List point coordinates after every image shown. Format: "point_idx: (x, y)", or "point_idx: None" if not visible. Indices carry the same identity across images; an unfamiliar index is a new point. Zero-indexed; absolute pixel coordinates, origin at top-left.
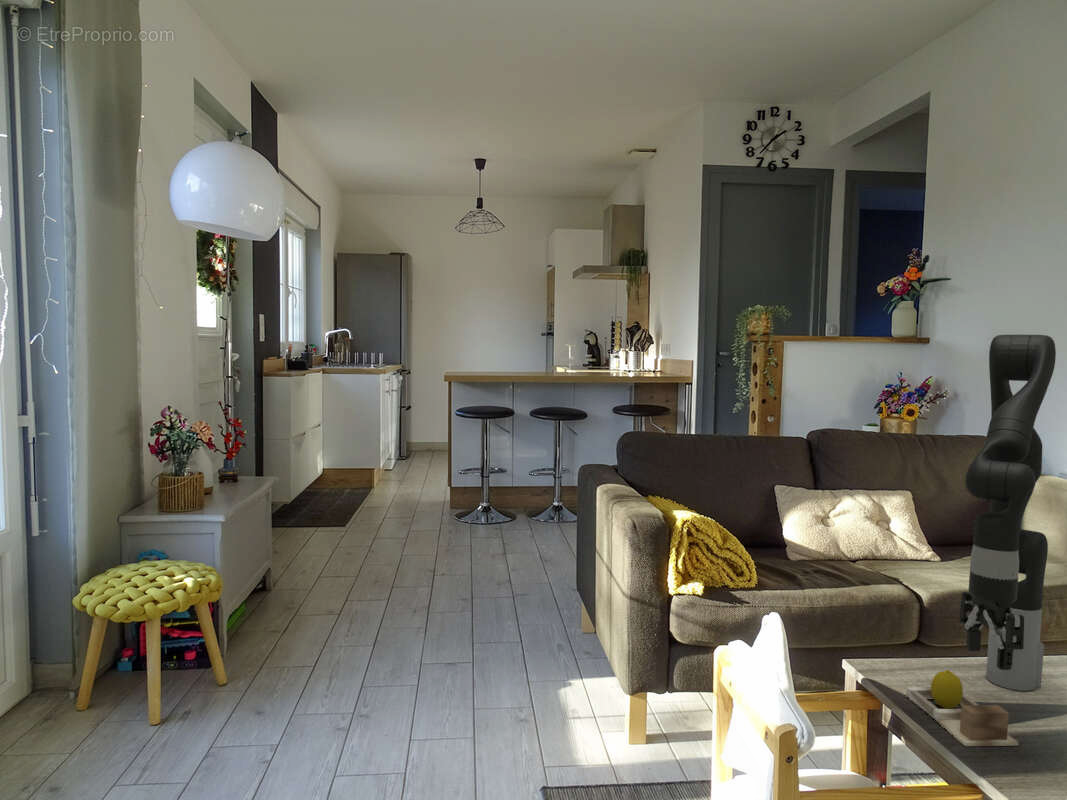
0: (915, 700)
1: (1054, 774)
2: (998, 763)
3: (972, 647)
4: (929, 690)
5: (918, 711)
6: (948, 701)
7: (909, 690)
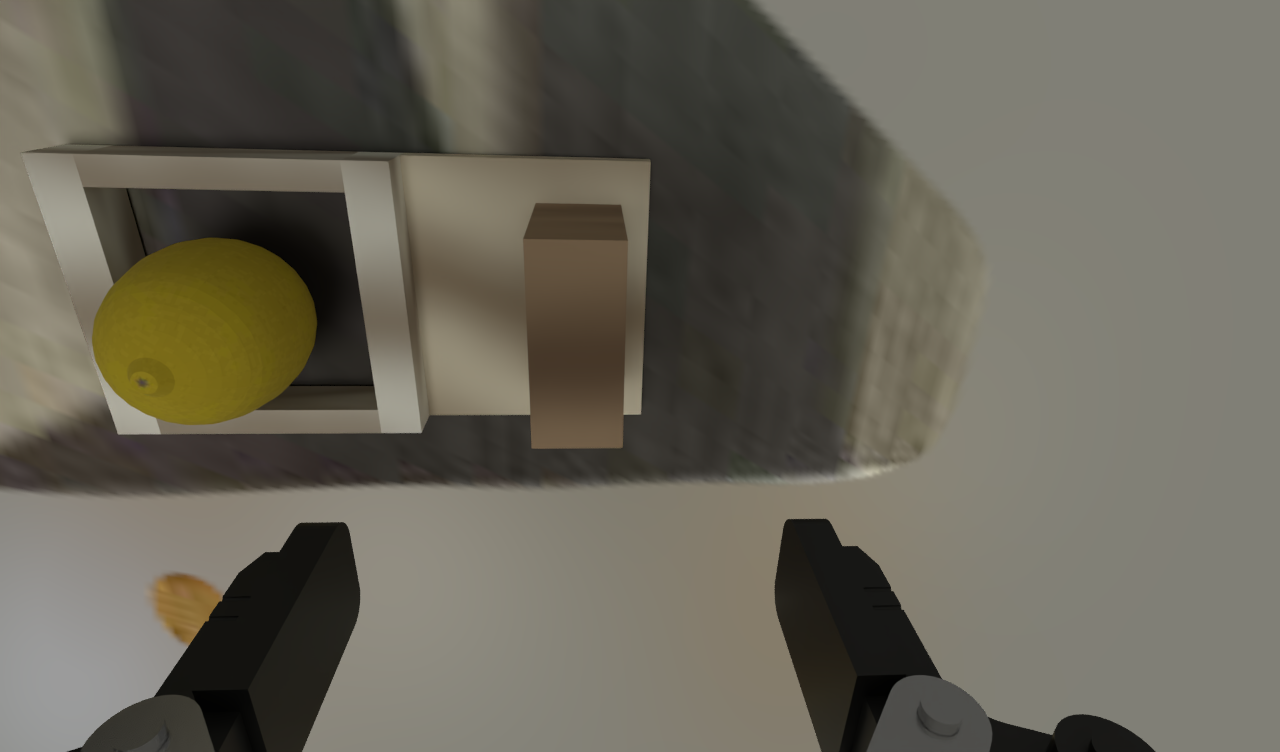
0: None
1: (895, 170)
2: (775, 353)
3: (344, 603)
4: None
5: None
6: (313, 344)
7: (152, 430)
